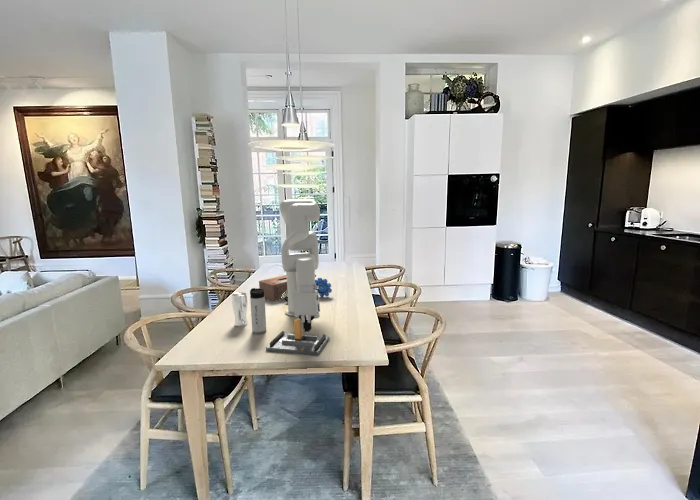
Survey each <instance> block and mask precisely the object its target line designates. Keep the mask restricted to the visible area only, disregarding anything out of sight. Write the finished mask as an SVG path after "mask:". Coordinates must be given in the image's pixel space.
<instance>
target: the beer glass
mask: <svg viewBox="0 0 700 500" xmlns="http://www.w3.org/2000/svg"><path fill="white" fill-rule="evenodd" d="M247 297H248V296H247V292H244V291H243V292H234V293H232V294H231V304H232V311H233V314H234V326H235V327H244V326H247V325H248V319H247V311H248V298H247Z"/></svg>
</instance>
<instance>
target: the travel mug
mask: <svg viewBox="0 0 700 500" xmlns="http://www.w3.org/2000/svg"><path fill="white" fill-rule="evenodd" d="M249 294H250V298H249V299H250V316H251V318H250V319H251V331H252V334H254V335H262V334H264V333H266V332H267V319H266V318H267V316H266V300H265V298H264V297H265V296H264V290H263V289H259V287H252V288H250V290H249Z"/></svg>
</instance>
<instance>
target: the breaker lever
mask: <svg viewBox="0 0 700 500" xmlns="http://www.w3.org/2000/svg"><path fill="white" fill-rule="evenodd" d="M293 329H294V330H293V331H294V332H293V333H294V334H295V338H294V340H298V341H303V340H304V336H303V334H304V333H303V331H304V330H303V322H302V320H301V319H300V318H299V317H296V318H295V319H294V320H293Z"/></svg>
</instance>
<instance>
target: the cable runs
mask: <svg viewBox="0 0 700 500" xmlns="http://www.w3.org/2000/svg"><path fill="white" fill-rule="evenodd" d="M284 333H285V331H284V330H282V331H281V332H280V333H278V334H277V336H275V337H274V338H273V339H272V340H271V341H270V342H269V344H270V346H272V345H273V344H274V343H275V342H276V341H277V340H278V339H279V338H280V337H281V336H282V335H283V334H284ZM326 336H327V334H325V333H324V334H323V336H322V337H321V338H320V340H319V341H318V343H317V344H316V345H315V347H314V349H315V350H316V349H317V348H318V347H319V346H320V344H321V343H322V341H323V340H324V339H325V337H326Z"/></svg>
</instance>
